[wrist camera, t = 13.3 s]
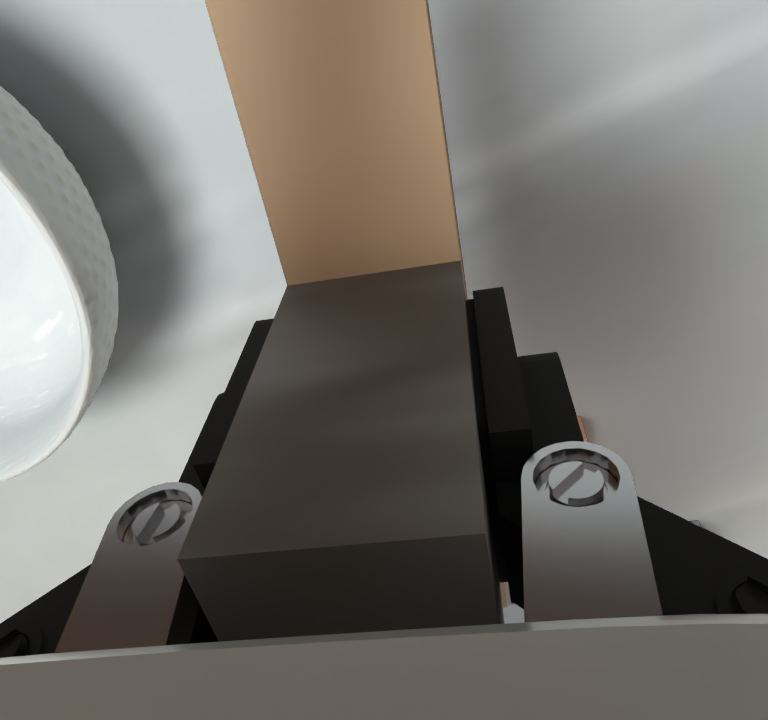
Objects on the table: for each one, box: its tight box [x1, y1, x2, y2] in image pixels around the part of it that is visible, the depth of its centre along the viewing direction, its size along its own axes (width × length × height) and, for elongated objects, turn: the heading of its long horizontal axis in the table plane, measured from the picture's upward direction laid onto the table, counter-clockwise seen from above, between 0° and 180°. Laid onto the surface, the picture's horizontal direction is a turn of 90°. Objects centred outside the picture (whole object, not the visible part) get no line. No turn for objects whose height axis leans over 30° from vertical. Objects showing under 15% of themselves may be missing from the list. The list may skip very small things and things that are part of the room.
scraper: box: [177, 0, 508, 642], centre depth 11 cm, size 3×14×8 cm, turn 10°
